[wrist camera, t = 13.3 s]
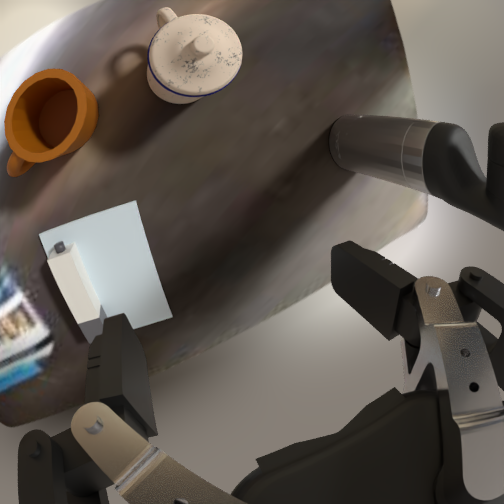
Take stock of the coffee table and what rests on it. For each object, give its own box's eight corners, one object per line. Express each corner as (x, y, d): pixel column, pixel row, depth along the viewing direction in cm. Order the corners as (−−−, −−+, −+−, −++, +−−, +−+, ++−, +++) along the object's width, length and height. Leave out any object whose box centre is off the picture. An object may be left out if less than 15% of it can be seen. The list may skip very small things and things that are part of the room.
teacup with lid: (229, 86, 31) (271, 68, 21) (165, 119, 30) (179, 111, 20) (189, 13, 25) (215, -30, 15) (122, 43, 24) (119, 4, 14)
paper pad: (135, 200, 32) (135, 200, 32) (172, 315, 41) (172, 317, 40) (39, 233, 28) (38, 234, 28) (90, 340, 37) (90, 341, 36)
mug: (5, 134, 22) (-29, 137, 14) (78, 69, 23) (60, 49, 15) (39, 187, 26) (11, 204, 19) (112, 123, 28) (104, 119, 20)
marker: (50, 242, 29) (43, 253, 26) (72, 234, 30) (66, 244, 27) (90, 328, 36) (89, 343, 33) (110, 323, 37) (110, 337, 34)
